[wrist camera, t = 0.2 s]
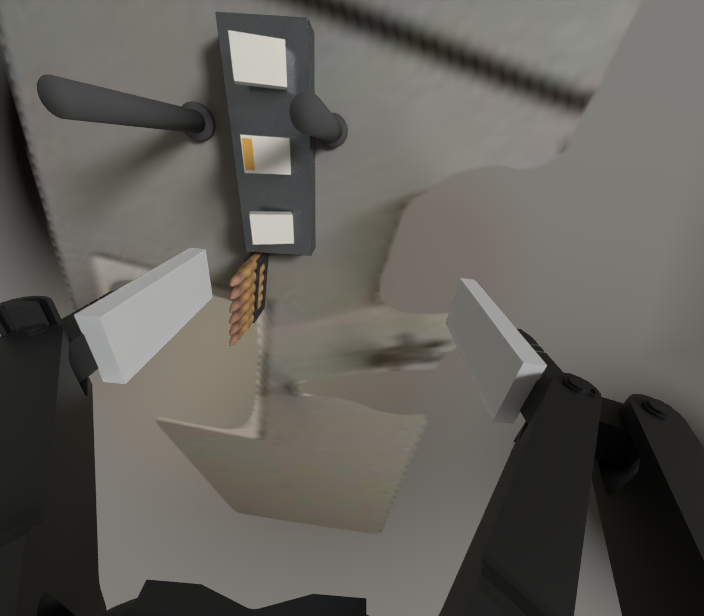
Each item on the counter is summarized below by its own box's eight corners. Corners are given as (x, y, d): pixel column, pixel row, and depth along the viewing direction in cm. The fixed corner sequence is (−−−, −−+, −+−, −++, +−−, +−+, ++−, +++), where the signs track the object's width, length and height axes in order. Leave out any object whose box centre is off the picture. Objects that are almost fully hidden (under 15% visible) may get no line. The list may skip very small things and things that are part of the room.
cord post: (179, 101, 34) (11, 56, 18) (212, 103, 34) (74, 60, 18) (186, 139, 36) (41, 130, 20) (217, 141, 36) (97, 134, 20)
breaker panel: (232, 27, 31) (215, 11, 27) (314, 32, 31) (307, 17, 27) (255, 243, 43) (246, 251, 39) (315, 247, 43) (311, 255, 39)
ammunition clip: (264, 308, 48) (237, 352, 38) (253, 306, 48) (223, 349, 38) (269, 248, 43) (238, 280, 33) (256, 246, 43) (222, 276, 32)
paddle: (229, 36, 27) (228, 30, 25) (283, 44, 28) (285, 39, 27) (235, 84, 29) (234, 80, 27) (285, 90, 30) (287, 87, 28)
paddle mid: (241, 135, 31) (240, 134, 29) (287, 138, 32) (289, 138, 31) (245, 171, 33) (244, 172, 31) (289, 173, 34) (291, 174, 32)
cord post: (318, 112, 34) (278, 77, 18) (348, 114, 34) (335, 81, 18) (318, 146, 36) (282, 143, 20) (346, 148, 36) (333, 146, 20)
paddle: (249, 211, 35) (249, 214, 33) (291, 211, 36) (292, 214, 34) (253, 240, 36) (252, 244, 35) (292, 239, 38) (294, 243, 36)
